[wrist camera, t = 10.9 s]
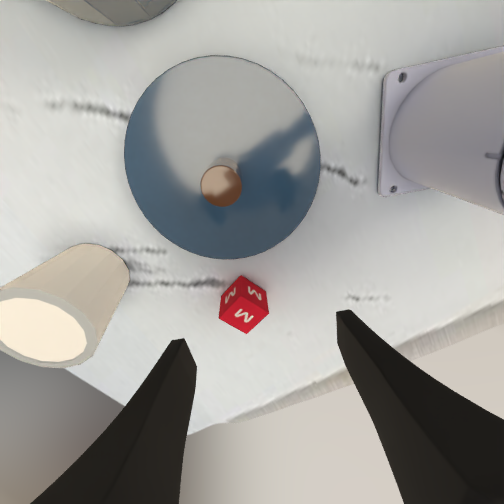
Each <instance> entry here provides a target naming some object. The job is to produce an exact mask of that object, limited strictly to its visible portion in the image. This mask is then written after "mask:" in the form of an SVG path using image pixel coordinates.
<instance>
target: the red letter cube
mask: <svg viewBox="0 0 504 504" xmlns="http://www.w3.org/2000/svg"><path fill="white" fill-rule="evenodd" d="M268 314H269V310H268V303H267V296H266V291H264V290H263V289H261V288H260V287H258V286H257V285H255V284H254V283H252V282H251V281H249V280H248V279H246V278H245V277H243V276H242V275H240V276H239V277H238V279H237V280H236V281H235V282H234V283H233V284H232V285H231V286H230V287H229V288H228V289H227V290H226V291H225V293H224V294H223V295H222V296H221V302H220V311H219V319H221V320H222V321H224V322H226V323H228V324H229V325H231V326H233V327H235V328H237V329H238V330H240V331H242V332H244V333H246V334H247V333H248V332H249V331H250V330H252V329H253V328H254V327H255V326H256V325H257V324H258V323H259V322H260V321H261V320H262V319H263V318H264V317H266V316H267V315H268Z"/></svg>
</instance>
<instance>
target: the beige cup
mask: <svg viewBox="0 0 504 504" xmlns="http://www.w3.org/2000/svg"><path fill="white" fill-rule="evenodd" d="M129 282H130V277H129V270H128V268H127V266H126V265H125V263H124V261H123V260H122V259H121V258H120V257H119V256H118V255H116V254H115V253H114V252H113V251H111V250H109V249H107V248H104V247H102V246H100V245H94V244H85V243H84V244H80V245H76V246H73V247H71V248H69V249H67V250H65V251H64V252H62V253H60V254H58V255H57V256H55V257H53V258H51V259H50V260H48V261H46V262H44V263H43V264H41V265H39V266H37V267H36V268H34V269H32V270H30V271H29V272H27V273H25V274H23V275H22V276H20V277H18V278H16V279H15V280H13V281H11V282H9V283H7V284H6V285H4V286H2V287H0V350H1V351H3V352H5V353H7V354H9V355H10V356H12V357H14V358H16V359H18V360H20V361H23V362H27V363H30V364H33V365H37V366H40V367H50V368H66V367H71V366H75V365H80V364H82V363H83V362H85V361H86V360H87V359H89V358H90V357H92V356H93V354H94V352H95V350H96V348H97V346H98V344H99V342H100V340H101V338H102V336H103V334H104V332H105V330H106V328H107V326H108V324H109V322H110V320H111V318H112V316H113V314H114V312H115V310H116V308H117V306H118V304H119V302H120V300H121V298H122V296H123V294H124V292H125V290H126V288H127V286H128V284H129Z"/></svg>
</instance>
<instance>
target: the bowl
mask: <svg viewBox="0 0 504 504" xmlns="http://www.w3.org/2000/svg"><path fill="white" fill-rule="evenodd" d="M46 1H48V2H50V3H52V4H53V5H55V6H57V7H59V8H61V9H62V10H64V11H66V12H68V13H70V14H72V15H74V16H76V17H77V18H80V19H82V20H87V21H90V22H93V23H97V24H102V25H107V26H127V25H134V24H139V23H141V22H144V21H147V20H150V19H152V18H154V17H156V16H157V15H159V14H161V13H163V12H164V11H165V10H166V9H168V8H169V7H170V6H171V5H173V4H174V3H175V2H176V1H177V0H46Z"/></svg>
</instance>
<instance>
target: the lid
mask: <svg viewBox="0 0 504 504" xmlns="http://www.w3.org/2000/svg"><path fill="white" fill-rule="evenodd" d="M124 159H125V169H126V174H127V178H128V183H129V186H130V188H131V191H132V194H133V196H134V198H135V200H136V202H137V204H138V206H139V208H140V209H141V211H142V212H143V214H144V216H145V217H146V218H147V219H148V221H149V222H150V223H151V224H152V225H153V227H154V228H155V229H157V230H158V231H159V232H160V233H161V234H162V235H163V236H164V237H166V238H167V239H168V240H169V241H171V242H172V243H174V244H176V245H177V246H179V247H181V248H183V249H185V250H187V251H189V252H191V253H194V254H197V255H200V256H204V257H209V258H216V259H238V258H245V257H249V256H253V255H256V254H259V253H262V252H264V251H266V250H268V249H270V248H272V247H274V246H275V245H277V244H278V243H280V242H281V241H283V240H284V239H285V238H286V237H288V236H289V235H290V234H291V233H292V232H293V231H294V230H295V229H296V228H297V226H298V225H299V224H300V223H301V221H302V220H303V218H304V217H305V216H306V214H307V212H308V210H309V208H310V206H311V204H312V202H313V199H314V197H315V194H316V190H317V186H318V183H319V176H320V149H319V142H318V138H317V134H316V130H315V127H314V124H313V122H312V119H311V117H310V115H309V113H308V111H307V109H306V108H305V106H304V104H303V102H302V101H301V100H300V98H299V97H298V96H297V94H296V93H295V92H294V91H293V90H292V89H291V88H290V87H289V86H288V85H287V84H286V83H285V82H284V81H283V80H282V79H281V78H280V77H278V76H277V75H276V74H274V73H273V72H271V71H270V70H268V69H266V68H264V67H262V66H261V65H259V64H257V63H254V62H251V61H248V60H245V59H243V58H237V57H232V56H217V55H211V56H204V57H197V58H194V59H191V60H188V61H185V62H182V63H180V64H178V65H176V66H174V67H172V68H170V69H168V70H167V71H166V72H164V73H163V74H162V75H160V76H159V77H158V78H156V79H155V80H154V82H153V83H152V84H151V85H150V86H149V87H148V88H147V89H146V90H145V92H144V93H143V94H142V96H141V97H140V99H139V100H138V102H137V104H136V106H135V108H134V110H133V112H132V114H131V117H130V120H129V123H128V126H127V131H126V137H125V147H124Z"/></svg>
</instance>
